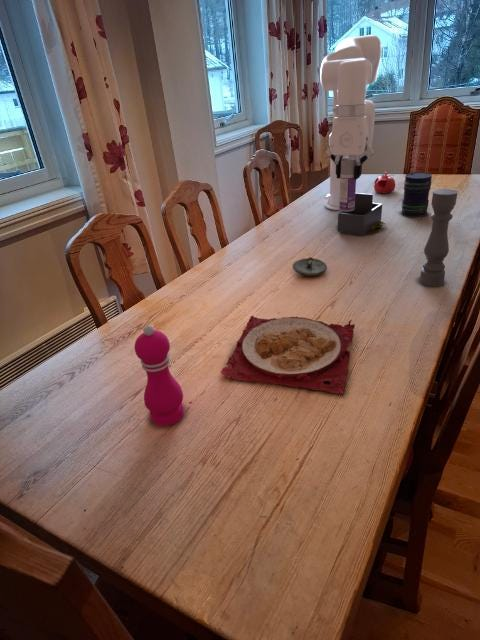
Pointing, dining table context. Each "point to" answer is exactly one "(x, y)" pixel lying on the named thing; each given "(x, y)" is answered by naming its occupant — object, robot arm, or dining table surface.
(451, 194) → the candle holder
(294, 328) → the plate with food
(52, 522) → the dining table surface
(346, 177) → the container
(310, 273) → the lid
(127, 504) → the dining table surface
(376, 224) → the lily flower
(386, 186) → the pomegranate
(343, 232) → the turntable
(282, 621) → the dining table surface
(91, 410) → the dining table surface
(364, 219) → the bin
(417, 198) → the storage jar
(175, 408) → the pepper mill
